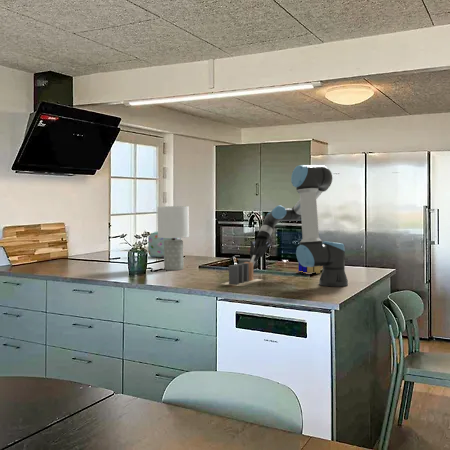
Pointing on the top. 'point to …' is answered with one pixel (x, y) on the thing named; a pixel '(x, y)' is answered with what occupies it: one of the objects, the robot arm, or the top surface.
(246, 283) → the birch board
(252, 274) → the salmon orange block
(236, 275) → the dark grey block
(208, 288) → the top surface
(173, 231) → the lamp
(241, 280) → the grey rectangular slab
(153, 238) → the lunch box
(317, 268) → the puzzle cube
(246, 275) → the dark grey block
